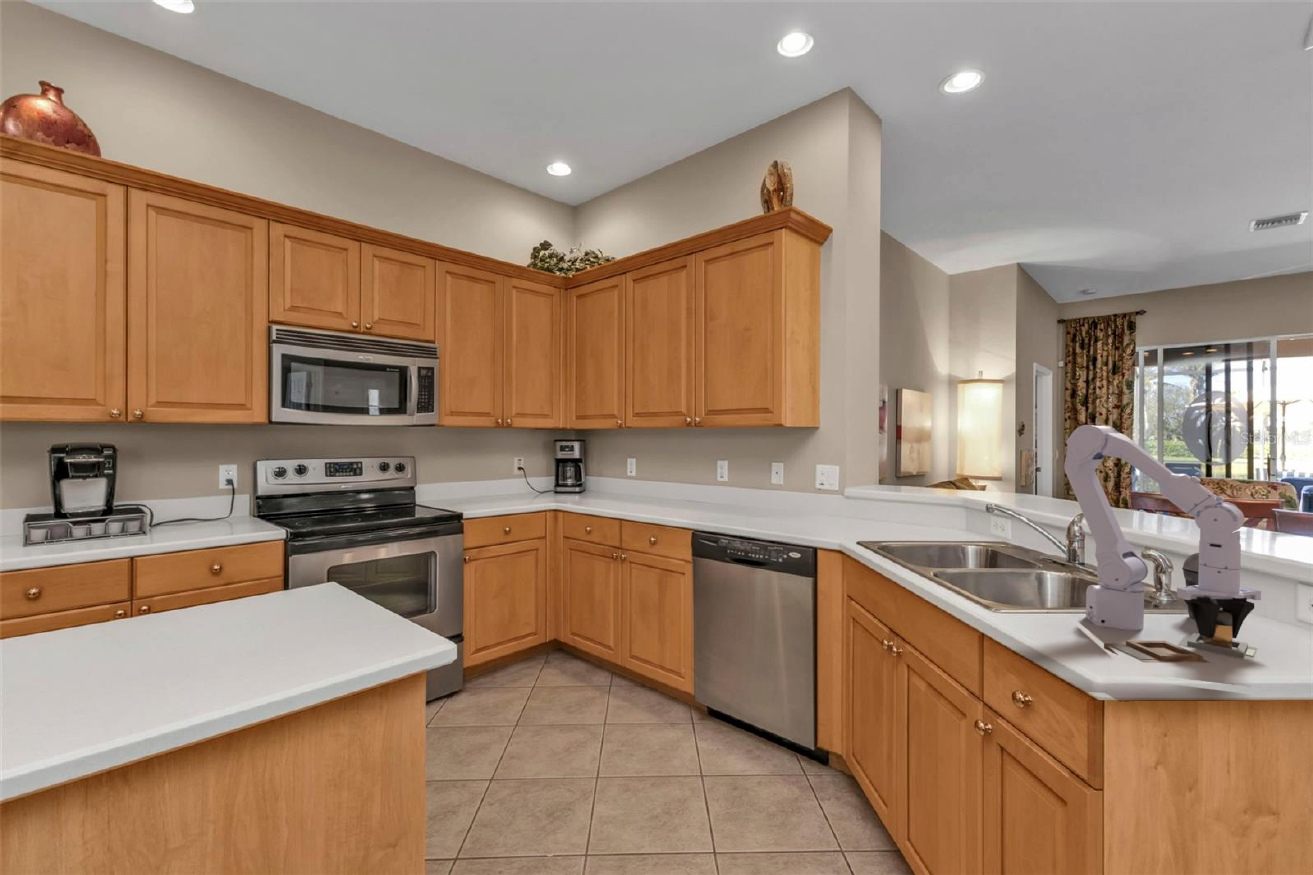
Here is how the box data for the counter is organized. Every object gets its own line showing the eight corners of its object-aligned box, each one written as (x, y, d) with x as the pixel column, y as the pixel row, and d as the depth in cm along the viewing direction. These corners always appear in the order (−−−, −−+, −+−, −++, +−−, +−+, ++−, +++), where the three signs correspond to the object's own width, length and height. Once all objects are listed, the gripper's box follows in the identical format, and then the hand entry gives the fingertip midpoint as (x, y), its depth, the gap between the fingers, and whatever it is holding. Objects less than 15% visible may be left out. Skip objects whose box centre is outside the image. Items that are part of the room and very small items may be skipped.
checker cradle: (1252, 666, 103) (1252, 656, 103) (1177, 650, 111) (1177, 640, 111) (1257, 653, 109) (1257, 643, 109) (1186, 638, 117) (1186, 629, 117)
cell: (1210, 648, 109) (1211, 608, 109) (1198, 641, 113) (1199, 602, 112) (1237, 651, 107) (1238, 611, 107) (1224, 644, 111) (1225, 605, 111)
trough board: (1143, 667, 102) (1144, 657, 102) (1103, 648, 111) (1104, 639, 111) (1210, 667, 102) (1210, 657, 102) (1164, 648, 111) (1164, 639, 111)
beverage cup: (1172, 617, 131) (1174, 529, 130) (1207, 618, 130) (1208, 530, 130) (1199, 628, 123) (1201, 535, 123) (1236, 629, 123) (1238, 536, 122)
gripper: (1202, 571, 106) (1200, 644, 106) (1279, 571, 106) (1277, 644, 106) (1167, 562, 113) (1166, 630, 113) (1239, 562, 113) (1238, 630, 113)
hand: (1217, 636), depth 110 cm, fingers closed on cell, 4 cm apart
